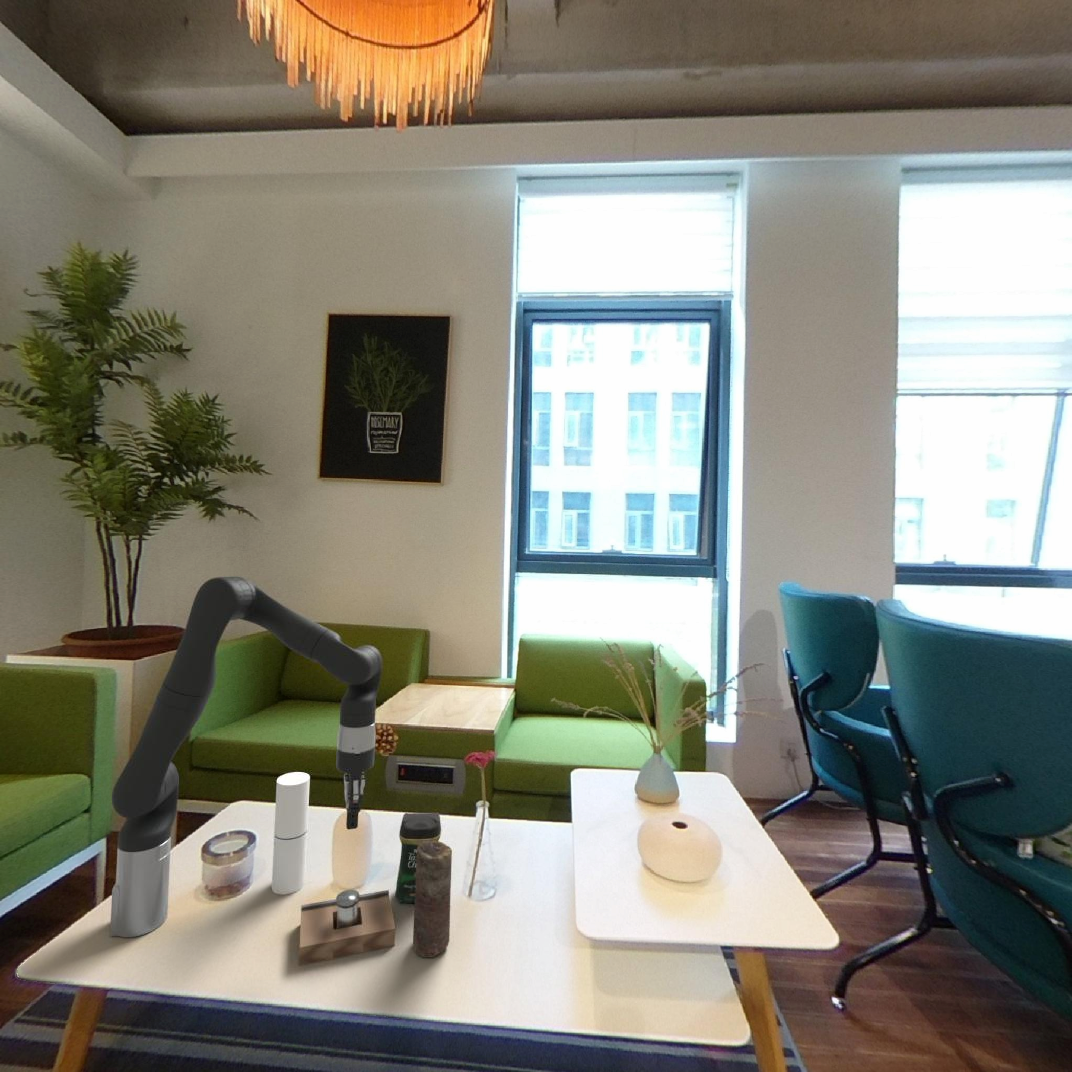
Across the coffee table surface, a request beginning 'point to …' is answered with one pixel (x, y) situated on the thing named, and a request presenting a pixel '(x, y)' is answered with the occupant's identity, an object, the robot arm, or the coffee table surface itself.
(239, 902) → the coffee table surface
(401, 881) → the coffee jar
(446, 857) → the candle
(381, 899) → the jig
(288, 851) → the cylindrical container
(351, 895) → the salt shaker
